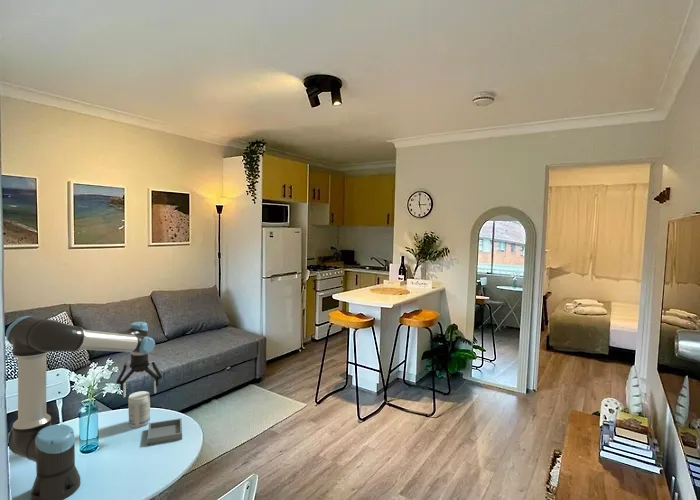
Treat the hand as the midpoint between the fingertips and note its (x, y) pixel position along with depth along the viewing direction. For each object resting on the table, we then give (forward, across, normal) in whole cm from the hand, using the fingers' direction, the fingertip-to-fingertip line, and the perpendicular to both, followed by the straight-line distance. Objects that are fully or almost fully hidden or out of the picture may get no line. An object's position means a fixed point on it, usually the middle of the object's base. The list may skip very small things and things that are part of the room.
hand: (140, 394), depth 199 cm
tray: (+15, +12, -15) cm, 24 cm away
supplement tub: (+15, 0, 0) cm, 15 cm away
